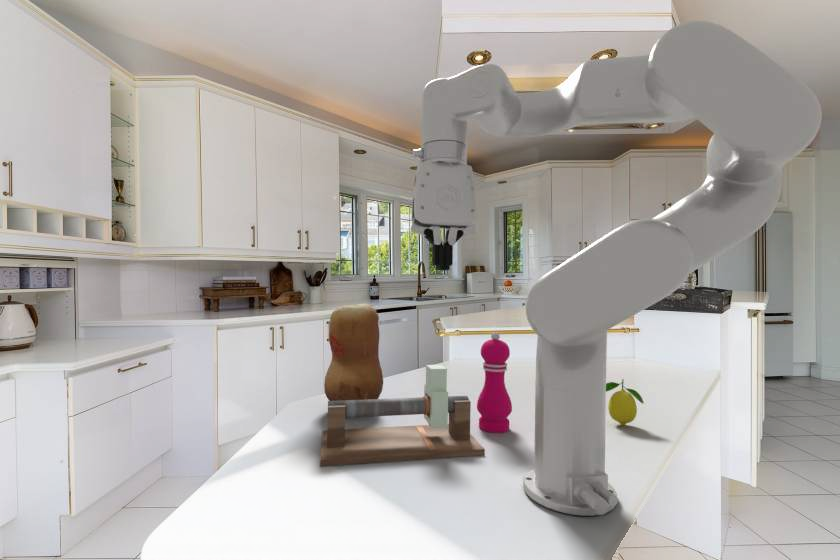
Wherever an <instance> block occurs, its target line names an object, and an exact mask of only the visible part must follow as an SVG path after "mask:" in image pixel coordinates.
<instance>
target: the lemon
mask: <svg viewBox="0 0 840 560" xmlns="http://www.w3.org/2000/svg"><path fill="white" fill-rule="evenodd" d="M621 380H622V381H621V383H617V382H614V381H611V382H610V381H609V382H606V393H607V392H609V391H613V390H615V389H616V388H618V387H619V386H620V385H621V389H620V390H618V391H616V392H614V393H612V395H611V397H610V398H609V401H608V406H607V407H608V413H609V416H610V417H611V419H612V420H614V421H615V422H617V423H619V425H620V426H621V425H624V426H625V425H626V424H629V423H631V422H633V421H634V420H635V419H636V416H637V413H638V408H637V404H636V401H635V400H637V401H639V403H641V404H643V405H644V400H643V398H642V396H641V394H640V393H639V392H638V391H636V390H635V389H633V388H626V387H625V386H624V378H622V379H621Z"/></svg>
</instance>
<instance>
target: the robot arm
mask: <svg viewBox="0 0 840 560" xmlns="http://www.w3.org/2000/svg"><path fill="white" fill-rule="evenodd" d="M421 96H422V97H421V98H422V99H421V100H422V102H421V147H420V148H418V149H413V150H412V158H413V159H417V160H419V163H418V164H417V168H416V171H415V178H414V183H413V184H414V185H413V192H412V204H411V221H412V222H411V225H410V232H411V233H412V234H416V235H419V236H423V237H424V238H425V239H426V241H428V242H429V243H430V245H431V247H432V265H433V266H435V271H444V272H445V271H450V269H451V268H450V267H452V265H453V260H454V258H453V256H454V253H453V251H454V245H456V243H457V242H458V241H459V240H460V239H461V238H464V237H468V236H472V235H474V234H475V233H476V231H475V225H474V224H475V223H476V222H477V216H478V215H477V214H478V213H477V212H478V211H477V198H476V197H477V195H476V186H475V185H476V183H475V179H474V177H475V176H474V171H473V167H472V166H471V165H469V164H468V163H467V162H468V161H467V160H468V120H469V119H471V120H474V121H476V122H477V123H476V124H478V125H479V126H480V128H482V130H483V131H484V132H486V133H488V134H489V135H492V136H496V137H502V138H503V137H504V138H506V137H507V138H509V137H510V138H513V137H515V138H519V137H520V138H526V137H529V138H531V137H532V138H533V137H541V136H548V135H550V134H554V133H555V134H556V133H559V132H564V131H568V130H570V129H573V128H577V127H579V126H586V125H608V124H611V125H612V124H613V125H614V124H615V125H616V124H664V123H665V124H667V123H668V124H670V123H679V122H683V121H687V120H691V119H692V118H695V119H696V120H698V121H699V122H700V123H701V124H703V125H704V126H705V127H706V128H707V129H708V130H710V131H711V132H712V133H713V135H712V136H711V137H710V139H709V143H708V145H707V149H706V153H705V154H706V155H705V156H706V157H705V158H706V159H705V160H706V169H707V174H706V178H705V180H704V182H703V184H701V186H699V188H698V189H696V190H695V191H693V192H692V193H690V194H687V195H686V196H685V197H683V198H681V199H680V200H678V201H677V202H676V203H674V204H673V205H671V206H670V207H669V208H667V209H666V210H664V211H662V212H661V213H659V214H657V215H656V216H654V217H652V218H641V219H636V220H635V219H634V220H632V221H629V222H627V223H624V224H623V225H622V224H621V226H619V227H617V228H615V229H613V230H612V231H610V232H609V233H607V234H605V235H603V236H602V237H601V238H599V239H597V240H596V241H594V242H593V243H591V244H590V245H589V246H587V247H585V248H584V249H582V250H581V251H579V252H578V253H576V254H575V255H573V256H571V257H570V258H568V259H567V260H565V261H564V262H563V263H561V264H559V265H557V266H556V267H554V268H553V269H551V270H550V271H548V272H547V273H545V274H544V275H542V276H541V277H539V279H537V281H535V283H534V284H533V285H532V287H531V288H530V290H529V292H528V294H527V297H526V302H525V315H526V319H527V321H528V323H529V326H530V328H531V329H532V331H534V333H535V335H537V338H536V339H537V341H536V355H535V356H536V359H535V380H534V381H535V391H534V392H535V395H534V397H535V398H534V400H535V401H534V403H535V404H534V405H535V406H534V457H533V458H534V465H533V467H534V469H530V470H529V471H527V472H526V473H525V474H524V476H523V479H522V480H523V481H522V487H523V490H524V492H525V493H526V495H527V496H528V497H529V498H530V499H531V500H533V501H534V502H536V503H537V504H539V505H541V506H543V507H545V508H548V509H550V510H552V511H556V512H559V513H563V514H567V515H572V516H582V517H583V516H586V517H587V516H588V517H589V516H590V517H591V516H592V517H593V516H603V515H605V514H607V513H609V512H611V511H612V510H614V508H615V507H616V506H617V504H618V503H619V498H618V493H617V491H616V489H615V488H614V487H613V486H612V484H610V483H609V475H608V474H607V473H606V412H607V411H606V409H607V408H606V406H607V405H606V402H607V399H606V398H607V395H606V393H607V392H606V383H607V354H608V353H607V345H608V343H607V342H608V330H610V329H612V328H613V327H615V326H617V325H619V324H621V323H623V322H625V321H626V320H628V319H630V318H632V317H634V316H635V315H637V314H638V313H640V312H642V311H644V310H646V309H647V308H650V307H651V306H653V305H655V304H657V303H658V302H660V301H661V300H662V301H663V299H665V298H667V297H668V296H670V295H671V294H673V293H674V292H675V291H677V290H678V289H679V288H681V286H682V285H684V283H685V282H686V281H687V280H688V278H689V276H690V274H691V273H693V272H695V271H696V270H699V269H700V268H701V267H703V266H705V265H706V264H709V263H710V262H712V261H714V260H715V259H716V258H718V257H719V256H722V255H723V254H724V253H726V252H727V251H729V250H731V249H733V248H734V247H736V246H737V245H739V244H741V243H743V242H744V241H745V240H746V239H748V238H750V237H752V235H754V234H755V233H756V232H757V231H759V230H760V229H761V228H762V227H763V226H764V225H765V224H766V222H768V220H769V219H770V217H771V216H772V215H773V213H774V211H775V209H776V207H777V205H778V203H779V200H780V196H781V192H782V187H783V167H784V166H785V165H786V164H787V163H789V162H790V161H792V160H793V159H794V158H796V157H797V156H798V155H800V154H801V153H802V152H803V151H804V150H805V149H807V147H809V146H810V144H812V141H814V139H815V138H816V136H817V134H818V132H819V130H820V128H821V125H822V124H821V123H822V118H823V114H822V112H823V111H822V107H821V104H820V101H819V99H818V96H817V95H815V92H813V91H812V89H811V88H810V87H809V86H808V85H807V84H806V83H805V82H803V81H802V80H801V79H799V78H798V77H797V76H796V75H794V74H793V73H791V72H790V71H789V70H787V68H785V67H783V66H782V65H780V64H779V63H778V62H776V61H775V60H773V59H772V58H771V57H769V56H768V55H767V54H766V53H764V52H763V51H761V50H760V49H759V48H757V46H755V45H753V44H752V43H750V42H749V41H748V40H747V39H745V38H743V37H742V36H740V35H739V34H737V33H735V32H734V31H733V30H730V29H728V28H726V27H724V26H723V25H720V24H719V23H714V22H711V21H707V20H705V21H704V20H691V21H687V22H683V23H680V24H678V25H677V24H676V25H675V26H673V27H671V28H670V29H669V30H667V31H665V32H664V33H663V34H662V35H661V37H659V38H658V39H657V41H656V43H655V44H654V45H653V47H652V49H651V52H650V54H647V55H646V54H645V55H633V56H621V57H611V58H593V59H589V60H587V61H585V62H583V63H581V64H580V65H579V66H578V68H576V69H575V71H574V72H573V73H572V74H571V75H570V76H569V77H568V79H566V80H565V81H564V82H563V83H560V84H559V85H557V86H555V87H552V88H549V89H546V90H540V91H533V92H516V91H515V88H514V87H513V85H512V83H511V81H510V79H509V77H508V75H507V73H506V72H505V70H504V69H503V68H501V67H500V66H499V65H497V64H494V63H483V64H480V65H477V66H473V67H471V68H469V69H468V70H465V71H463V72H461V73H458V74H457V75H454V76H451V77H442V78H437V79H433V80H431V81H429V82H428V83H427V84H426V85H425V86H424V87H423V90H422V95H421ZM441 229H445V234H444V235H445V236H444V242H443V241H442V235H441V234H442V233H441Z"/></svg>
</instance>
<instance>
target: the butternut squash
mask: <svg viewBox="0 0 840 560" xmlns="http://www.w3.org/2000/svg"><path fill="white" fill-rule="evenodd" d="M329 319H330V321H329V333H328V335H329V339H328V341H329V346H330V350H331V361H330V364H329V366H328V368H327V371H326V374H325V376H324V383H323V385H324V394H325V396H326V399H328V401H343V400H368V399H380V396H381V394H382V392H383V389H384V388H383V386H384V377H383V371H382V368H381V367H382V366H381V363H380V359H379V350H380V348H379V346H380V326H379V320H380V317H379V314H378V312H377V310H376V309H375V308H374V307H373V305H371V304H369V303H357V304H351V305H350V304H349V305H342V306H339V307H337V308H336V309H334V310H333V311H332V312H331V315H330V318H329Z"/></svg>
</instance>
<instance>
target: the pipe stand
mask: <svg viewBox="0 0 840 560" xmlns="http://www.w3.org/2000/svg"><path fill="white" fill-rule="evenodd" d="M430 400H431V398H430V397H429V396H424V395H423V396H422V397H401V398H400V397H399V398H378V399H368V400H343V401H329V400H328V401H327V426H326V427H327V429H325V430H324V429H323V430H321V445H320V457H319V460H320V461H319V463H320V464H319V467H329V466H330V467H331V466H334V467H335V466H346V465H347V466H348V465H359V464H361V465H362V464H373V463H375V464H376V463H389V462H402V461H405V462H406V461H417V460H430V459H431V460H433V459H442V458H443V459H444V458H445V459H446V458H459V457H473V456H485V455H486V454H485V452H486V449H485V448H484V447H483V446H482V444H481V443H479V441H478V440H477V439H476V438H475V437H474V436H473V435H472V433H471V400H470V397H469V396H468V395H451V396H450V395H448V428H431V427H430V425H429V424H420V425H418V424H417V425H402V426H383V427H366V428H365V427H363V428H347V429H346V419H349V418H368V417H369V418H370V417H371V418H372V417H388V416H389V417H390V416H392V417H393V416H410V415H411V416H413V415H414V416H415V415H423V416H424V415H430Z"/></svg>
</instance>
